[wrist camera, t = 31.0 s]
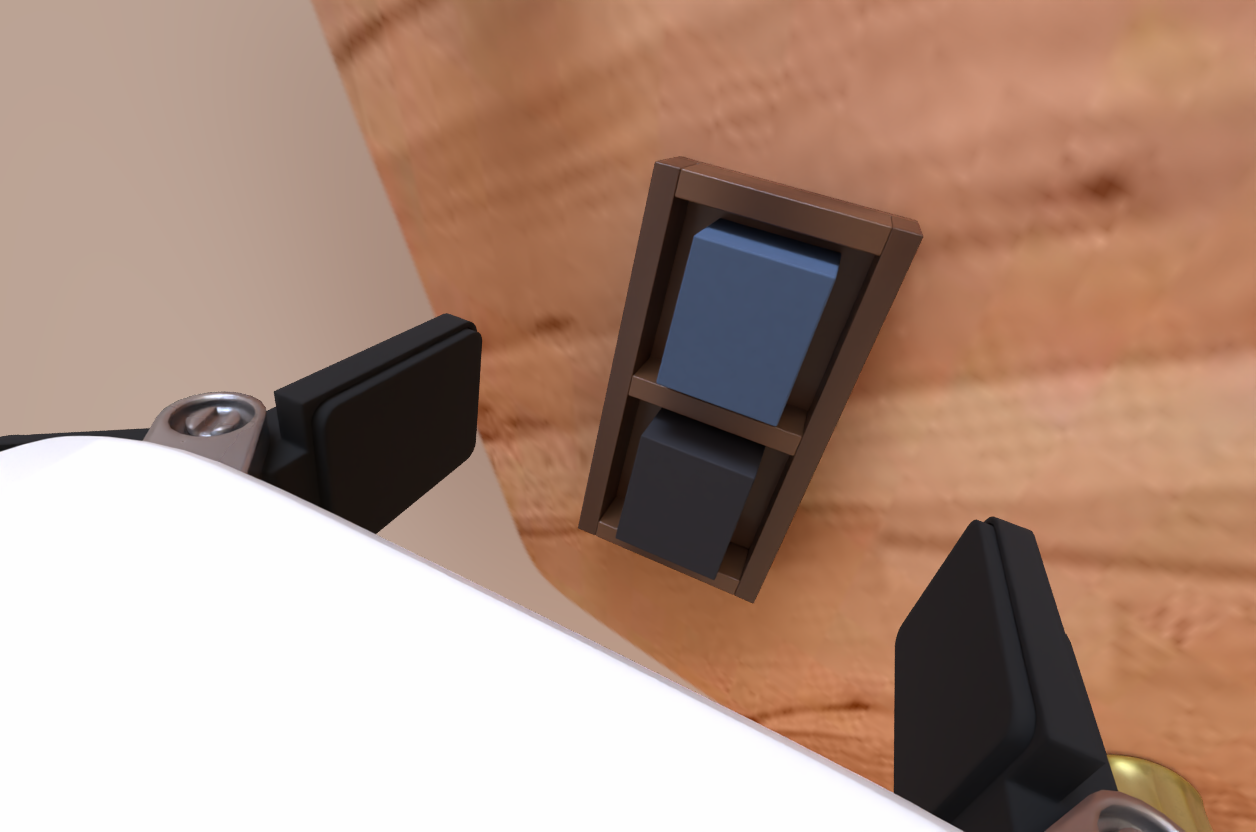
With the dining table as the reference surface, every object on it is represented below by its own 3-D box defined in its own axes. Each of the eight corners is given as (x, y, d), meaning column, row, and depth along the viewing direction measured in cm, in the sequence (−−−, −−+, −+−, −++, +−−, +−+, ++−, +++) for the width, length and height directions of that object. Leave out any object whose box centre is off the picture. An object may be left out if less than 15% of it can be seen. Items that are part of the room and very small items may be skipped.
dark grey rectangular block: (770, 433, 27) (755, 478, 24) (732, 529, 30) (714, 581, 27) (668, 396, 28) (640, 435, 25) (642, 493, 31) (614, 538, 28)
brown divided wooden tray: (918, 221, 22) (923, 235, 19) (763, 563, 31) (753, 604, 28) (679, 155, 24) (654, 161, 21) (600, 495, 33) (577, 528, 30)
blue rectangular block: (842, 253, 23) (836, 277, 19) (789, 387, 26) (776, 428, 22) (719, 217, 24) (693, 234, 20) (682, 350, 27) (655, 384, 23)
